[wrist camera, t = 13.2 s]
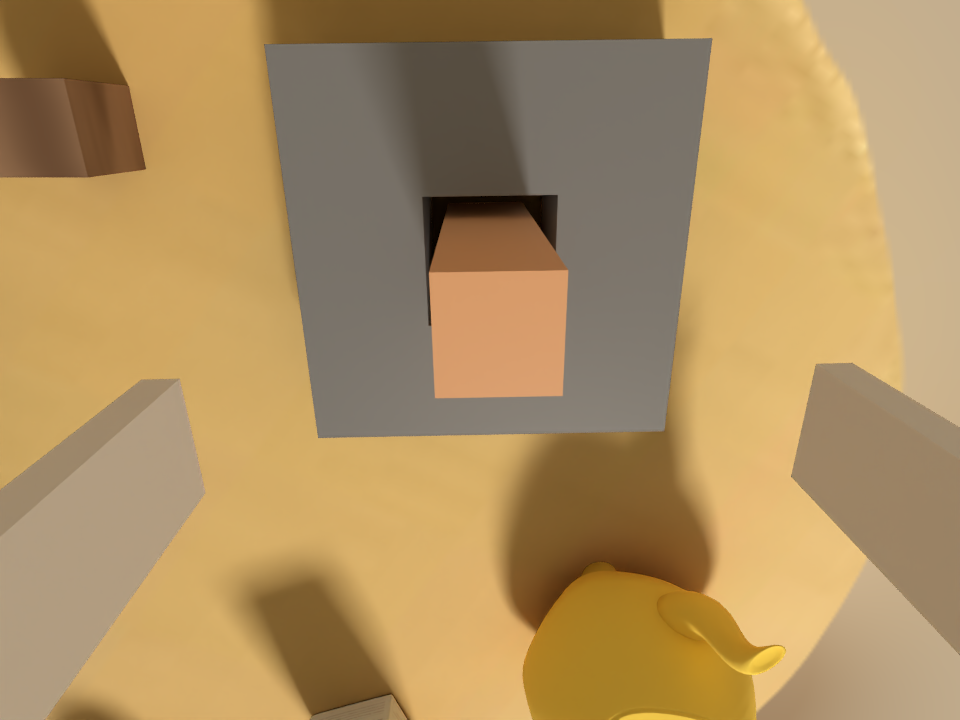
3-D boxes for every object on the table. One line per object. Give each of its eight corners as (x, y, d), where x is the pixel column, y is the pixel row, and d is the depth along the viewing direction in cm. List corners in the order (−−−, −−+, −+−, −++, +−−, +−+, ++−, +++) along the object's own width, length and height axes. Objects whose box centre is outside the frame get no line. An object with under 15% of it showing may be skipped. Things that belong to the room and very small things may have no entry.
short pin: (70, 169, 30) (-2, 177, 26) (48, 85, 29) (-32, 78, 24) (146, 169, 30) (88, 177, 26) (128, 85, 29) (63, 78, 24)
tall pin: (450, 275, 33) (434, 398, 18) (448, 203, 31) (428, 272, 16) (520, 274, 33) (562, 396, 18) (522, 202, 31) (568, 270, 16)
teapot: (486, 670, 45) (492, 866, 33) (607, 467, 38) (670, 621, 26) (640, 716, 47) (698, 915, 35) (781, 532, 40) (911, 702, 28)
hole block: (342, 388, 35) (318, 437, 30) (304, 60, 29) (264, 44, 23) (634, 383, 36) (664, 431, 30) (665, 55, 29) (712, 38, 23)
